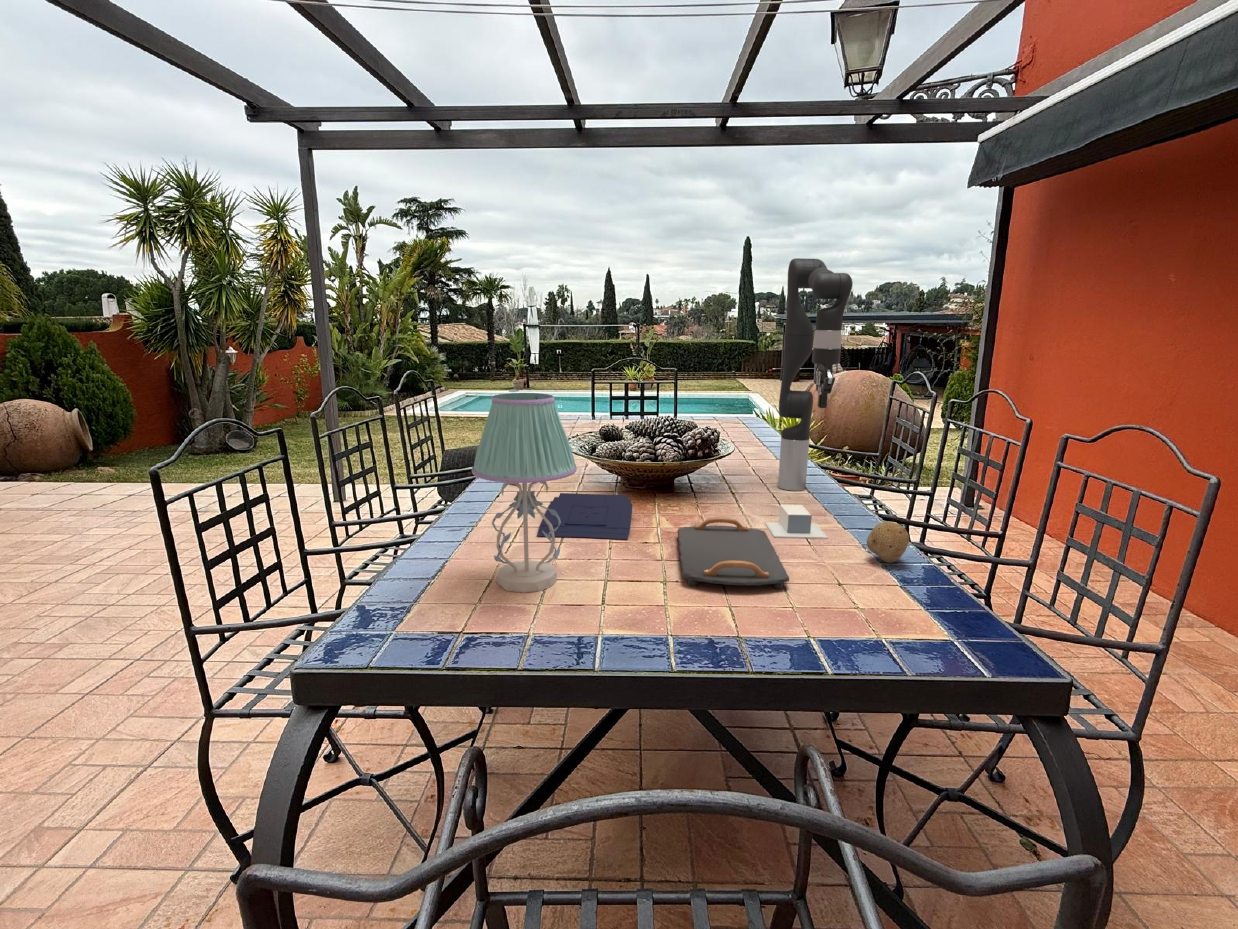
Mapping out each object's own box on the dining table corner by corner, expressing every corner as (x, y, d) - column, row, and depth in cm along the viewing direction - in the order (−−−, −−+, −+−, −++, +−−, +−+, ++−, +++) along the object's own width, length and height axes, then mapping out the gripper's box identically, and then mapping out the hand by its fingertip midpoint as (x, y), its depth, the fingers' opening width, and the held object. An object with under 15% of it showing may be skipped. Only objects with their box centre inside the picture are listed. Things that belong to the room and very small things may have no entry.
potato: (865, 565, 150) (869, 525, 148) (864, 553, 158) (868, 514, 156) (907, 571, 147) (912, 529, 145) (904, 558, 155) (909, 518, 153)
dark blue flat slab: (634, 503, 194) (634, 492, 193) (628, 549, 166) (628, 536, 165) (554, 501, 196) (554, 490, 195) (535, 545, 168) (535, 533, 166)
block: (780, 504, 180) (789, 515, 170) (801, 505, 180) (811, 515, 170) (779, 521, 181) (787, 533, 171) (800, 522, 181) (810, 533, 171)
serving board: (793, 598, 133) (795, 569, 132) (681, 594, 134) (682, 566, 133) (762, 536, 171) (764, 514, 169) (675, 534, 172) (676, 512, 171)
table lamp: (569, 559, 152) (568, 390, 143) (584, 597, 131) (584, 402, 122) (475, 565, 147) (469, 390, 138) (475, 606, 126) (468, 403, 118)
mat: (765, 523, 180) (765, 522, 180) (815, 524, 180) (815, 523, 180) (774, 537, 169) (774, 536, 169) (827, 538, 168) (827, 537, 168)
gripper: (807, 345, 187) (803, 404, 191) (819, 347, 174) (814, 411, 179) (833, 345, 187) (828, 404, 191) (847, 348, 174) (841, 411, 178)
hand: (822, 407), depth 185 cm, fingers closed
